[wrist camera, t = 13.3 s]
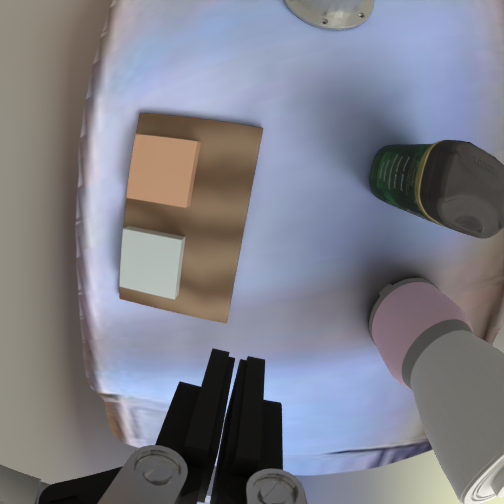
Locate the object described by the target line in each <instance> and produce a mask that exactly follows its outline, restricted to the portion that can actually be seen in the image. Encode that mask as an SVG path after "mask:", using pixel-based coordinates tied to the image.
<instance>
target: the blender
mask: <svg viewBox="0 0 504 504" xmlns="http://www.w3.org/2000/svg"><path fill="white" fill-rule="evenodd" d="M379 295H380V297H379V299H378V300H377V302H376V303H375V305H374V307H373V309H372V312H371V315H370V319H369V331H370V335H371V338H372V340H373V342H374V344H375V345H376V347H377V348H378V350H379V352H380V354H381V356H382V358H383V360H384V362H385V364H386V366H387V367H388V369H389V371H390V372H391V374H392V375H393V377H394V378H395V379H396V380H397V381H398V382H399V383H400V384H402V385H403V386H405V387H407V388H409V389H411V390H413V393H414V397H415V401H416V404H417V407H418V411H419V414H420V418H421V421H422V424H423V427H424V430H425V433H426V435H427V438H428V440H429V442H430V444H431V446H432V448H433V450H434V452H435V455H436V457H437V459H438V461H439V463H440V465H441V467H442V469H443V471H444V473H445V475H446V476H447V478H448V480H449V481H450V483H451V485H452V487H453V489H454V491H455V493H456V495H457V497H458V499H459V500H460V502H461V503H462V504H482V503H484V502H487V501H489V500H491V499H493V498H495V497H504V353H503V352H501V351H500V350H498V349H497V348H494V347H493V346H491V345H490V344H488V343H487V342H485V341H484V340H482V339H480V338H478V337H476V336H475V335H473V330H472V326H471V324H470V321H469V319H468V317H467V316H466V314H465V313H464V311H463V310H462V309H461V308H460V307H459V306H458V305H456V304H455V303H454V302H453V301H452V300H451V299H449V298H448V297H447V296H446V295H444V294H443V293H442V292H441V291H440V290H439V289H438V288H437V287H436V286H434V285H433V284H432V283H431V282H429V281H427V280H425V279H423V278H421V277H419V278H410V279H405V280H402V281H399V282H397V283H395V284H394V285H391V284H388V285H386V286H385V287H384V288H383V289H382V290H381V291H380V292H379Z"/></svg>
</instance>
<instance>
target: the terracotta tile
mask: <svg viewBox="0 0 504 504" xmlns="http://www.w3.org/2000/svg"><path fill="white" fill-rule="evenodd" d="M200 145H201V142H198V141H191V140H184V139H176V138H168V137H159V136H150V135H139V134H135V140H134V146H133V152H132V158H131V165H130V172H129V179H128V187H127V195H126V198H131V199H137V200H143V201H149V202H155V203H161V204H167V205H172V206H178V207H184V208H187V207H189V206H190V204H191V198H192V192H193V185H194V179H195V174H196V168H197V162H198V156H199V151H200Z"/></svg>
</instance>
